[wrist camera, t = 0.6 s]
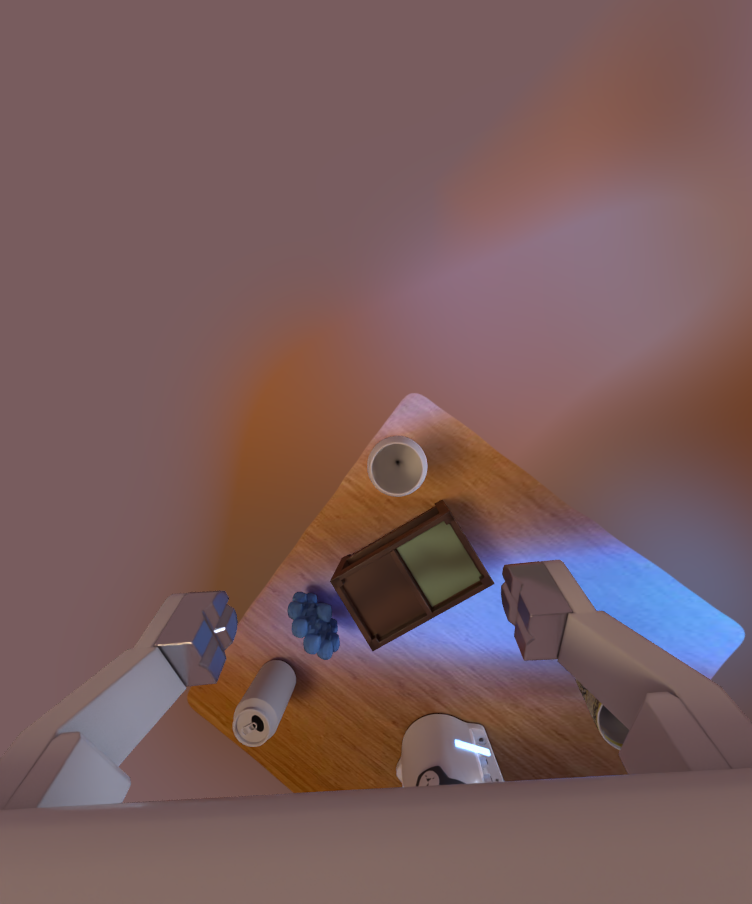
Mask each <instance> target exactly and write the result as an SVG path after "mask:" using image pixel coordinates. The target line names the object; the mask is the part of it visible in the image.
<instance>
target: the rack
mask: <svg viewBox="0 0 752 904" xmlns="http://www.w3.org/2000/svg"><path fill="white" fill-rule="evenodd" d="M330 582H331V583H332V585H333V587H334V588H335V590H336V592H337V593H338V595H339V597H340V598H341V600H342V601H343V603H344V605H345V606H346V608H347V610H348V611H349V613H350V615H351V616H352V618H353V620H354V621H355V623H356V625H357V626H358V628H359V629H360V631H361V633H362V634H363V636H364V638H365V639H366V641H367V643H368V644H369V646H370V648H371V649H372V651H374V650H376V649H378V648H380V647H381V646H383V645H385V644H387V643H388V642H390V641H392V640H394V639H396V638H398V637H399V636H401V635H403V634H405V633H407V632H408V631H410V630H412V629H414V628H416V627H417V626H419V625H421V624H423V623H425V622H426V621H428V620H430V619H432V618H434V617H435V616H437V615H439V614H441V613H443V612H444V611H446V610H448V609H450V608H452V607H453V606H455V605H457V604H459V603H461V602H462V601H464V600H466V599H468V598H470V597H471V596H473V595H475V594H477V593H479V592H481V591H482V590H484V589H486V588H488V587H490V586H491V585H493V584H494V582H493V580H492V579H491V577H490V575H489V574H488V572H487V570H486V569H485V567H484V566H483V564H482V562H481V561H480V559H479V557H478V556H477V554H476V553H475V551H474V549H473V548H472V546H471V544H470V543H469V541H468V540H467V538H466V536H465V535H464V533H463V531H462V530H461V528H460V527H459V525H458V523H457V522H456V520H455V518H454V517H453V515H452V513H451V512H450V510H449V509H448V507H447V506H446V505H445V503H444V502H443V500H440V501H439V502H437V503H435V507H433V508H431V509H430V510H428V511H426V512H425V513H423V514H421V515H419V516H418V517H416V518H414V519H413V520H411V521H409V522H408V523H406V524H404V525H402V526H401V527H399V528H397V529H396V530H394V531H392V532H391V533H389V534H387V535H385V536H384V537H382V538H380V539H379V540H377V541H375V542H374V543H372V544H370V545H368V546H367V547H365V548H363V549H362V550H360V551H358V552H356V553H355V554H353V555H351V556H350V555H349V554H348V555H347V556H345V557H343V558H342V559H341V561H340V563H339V565H338V567H337V569H336V571H335V573H334V575H333V577H332V579H331V581H330Z"/></svg>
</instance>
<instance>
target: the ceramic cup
mask: <svg viewBox="0 0 752 904" xmlns="http://www.w3.org/2000/svg"><path fill="white" fill-rule="evenodd" d="M575 680H576V683H577V685H578V687H579V689H580V691H581V693H582V696H583V698H584V700H585V702H586V704H587V706H588V709H589V712H590V714H591V716H592V718H593V720H594V722H595V724H596V726H597V728H598V730H599V732H600V734H601V735H602V737H603V738H604V739H605V740H606V741H607V742H608V743H609V744H610V745H611V746H613V747H614V748H616V749H618V750H621V747H622V745H623V743H624V741H625V739H626V736H627V734H628V732H629V729H628V728H627V727H626V726H625V725H623V724H622V723H621V722H620V721H619V720H618V719H617V718H616V717H615V716H614V715H613V714H612V713H611V712H610V711H609V710H608V709H607V708H606V707H605V706H604V705H603V704H602V703H601V702H600V701H599V700H598V699H597V698H595V697H594V696H593V695H592V694H591V693H590V692H589V691H588V690H587V689H586V688H585V687H584V686H583V685H582V684H581V683H580V682H579V681H578V680H577V679H576V678H575Z"/></svg>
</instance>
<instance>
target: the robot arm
mask: <svg viewBox="0 0 752 904" xmlns="http://www.w3.org/2000/svg"><path fill="white" fill-rule="evenodd" d="M502 575H503V577H504V579H505V583H504V584H503V585H502V586H501V597H502V604H503V607H504V611H505V614H506V616H507V619H508V621H509V622H511V623H512V624H513V625H514V626H515V633H514V637H515V639H516V642H517V644H518V647H519V649H520V652H521V654H522V657H523V659H524V661H527V660H550V659H558V662H559V663H560V664H561V665H562V666H563V667H564V668H565V669H566V670H567V671H568V672H570V673H571V674H572V675H573V676H574V677H575V678H576V679H577V680H578V681H579V682H580V683H581V684H582V685H583V686H584V687H585V688H586V689H587V690H588V691H589V692H590V693H591V694H592V695H593V696H594V697H595V698H597V699H598V700H599V701H600V702H601V703H602V704H603V705H604V706H605V707H606V708H607V709H608V710H609V711H610V712H611V713H612V714H613V715H614V716H615V717H616V718H617V719H618V720H619V721H620V722H621V723H622V724H623V725H625V726H626V727H627V728H628V729H629V732H628V734H627V736H626V739H625V741H624V743H623V745H622V747H621V750H620V752H619V757H620V759H621V761H622V763H623V765H624V767H625V769H626V771H627V773H628V775H614V776H596V777H578V778H560V779H542V780H524V781H506V782H504V780H503V777H502V774H501V772H500V769H499V766H498V764H497V761H496V758H495V756H494V753H493V750H492V748H491V745H490V742H489V740H488V737H487V734H486V731H485V729H484V727H483V726H482V725H479V724H475V723H466V722H463V721H461V720H459V719H457V718H455V717H452V716H449V715H445V714H432V715H427V716H424V717H422V718H420V719H418V720H417V721H415V722H414V723H413V724H412V725H411V726H410V727H409V728H408V730H407V731H406V733H405V735H404V738H403V742H402V754H401V758H400V760H399V762H398V764H397V766H396V773H397V777H398V778H399V779H400V781H401V782H402V787H398V788H380V789H362V790H345V791H327V792H309V793H292V794H274V795H256V796H239V797H220V798H203V799H184V800H167V801H149V802H132V803H122V802H123V800H124V798H125V796H126V794H127V792H128V789H129V787H130V785H131V781H130V777H129V776H128V775H127V774H126V773H125V772H123V771H122V770H121V769H120V768H119V767H118V766H119V765H120V764H121V763H122V762H123V761H124V759H125V758H126V757H127V756H128V755H129V754H130V753H131V751H132V750H133V749H134V748H135V747H136V746H137V745H138V743H139V742H140V741H141V740H142V739H143V738H144V736H145V735H146V734H147V733H148V732H149V731H150V730H151V728H152V727H153V726H154V725H155V724H156V723H157V722H158V720H159V719H160V718H161V717H162V716H163V715H164V714H165V712H166V711H167V710H168V709H169V708H170V706H171V705H172V704H173V703H174V702H175V701H176V700H177V699H178V698H179V696H180V695H181V694H182V693H183V692H184V691H185V690H186V687H187V686H196V685H206V684H215V683H217V681H218V678H219V676H220V673H221V671H222V668H223V666H224V663H225V660H226V655H225V652H224V651H225V650H226V649H227V648H228V647H229V646H230V645H231V644H232V643H233V640H234V637H235V635H236V630H237V623H238V621H237V615H236V612H235V610H234V608H232V607H230V606H229V605H228V604H227V602H228V599H229V598H228V596H227V594H226V592H225V591H207V592H190V593H179V594H172V595H170V596H169V597H168V598H167V599H166V600H165V601H164V603H163V604H162V606H161V607H160V609H159V610H158V612H157V613H156V615H155V616H154V618H153V620H152V621H151V622H150V624H149V626H148V627H147V629H146V630H145V632H144V633H143V635H142V636H141V638H140V639H139V641H138V642H137V644H136V645H135V647H134V648H133V649H127V650H126V651H125V652H124V653H122V654H121V655H120V656H118V657H117V658H116V659H115V660H113V661H112V662H111V663H110V664H108V665H107V666H106V667H104V668H103V669H102V670H101V671H99V672H98V673H97V674H95V675H94V676H93V677H92V678H90V679H89V680H88V681H86V682H85V683H84V684H83V685H81V686H80V687H79V688H78V689H76V690H75V691H74V692H72V693H71V694H70V695H69V696H67V697H66V698H65V699H63V700H62V701H61V702H60V703H58V704H57V705H56V706H54V707H53V708H52V709H51V710H50V711H48V712H47V713H46V714H44V715H43V716H42V717H40V718H39V719H38V720H37V721H35V722H34V723H33V724H31V725H30V726H29V727H28V728H26V729H25V730H24V731H22V732H21V733H20V734H19V735H18V737H17V738H16V739H15V741H14V742H13V743H12V745H11V746H10V747H9V748H8V749H7V751H6V752H5V753H4V755H3V756H2V757H1V758H0V904H752V722H751V721H750V720H749V719H748V718H747V717H746V715H745V714H744V713H743V712H742V711H741V709H740V708H739V707H738V706H737V705H736V704H735V702H734V701H733V700H732V699H731V698H730V697H729V695H728V694H727V693H726V692H725V691H724V690H723V688H722V687H721V686H719V685H718V684H716V683H715V682H713V681H711V680H710V679H708V678H707V677H705V676H704V675H702V674H701V673H699V672H697V671H696V670H694V669H693V668H691V667H690V666H688V665H687V664H685V663H683V662H682V661H680V660H679V659H677V658H676V657H674V656H672V655H671V654H669V653H668V652H666V651H665V650H663V649H662V648H660V647H658V646H657V645H655V644H654V643H652V642H651V641H649V640H647V639H646V638H644V637H643V636H641V635H640V634H638V633H637V632H635V631H633V630H632V629H630V628H629V627H627V626H626V625H624V624H623V623H621V622H619V621H618V620H616V619H615V618H613V617H612V616H610V615H608V614H607V613H605V612H604V611H596V609H595V608H594V606H593V605H592V604H591V602H590V601H589V599H588V598H587V596H586V595H585V593H584V592H583V590H582V589H581V587H580V586H579V585H578V583H577V582H576V580H575V579H574V577H573V576H572V574H571V573H570V571H569V570H568V568H567V567H566V566H565V564H564V563H563V562H562V561H561V560H552V561H541V562H539V561H538V562H529V563H519V564H509V565H504V567H503V573H502ZM479 738H482V739H479Z"/></svg>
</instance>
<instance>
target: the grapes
mask: <svg viewBox="0 0 752 904" xmlns="http://www.w3.org/2000/svg"><path fill="white" fill-rule="evenodd" d="M288 616H289V618H291V619H293V620H294V621H293V623H292V633H293V635H294V636H296V637H298V638H303V637H304V636H305V638H304V642H303V645H304V650H305V651H306V652H307V653H309V654H316V653H317V655H318V657H320V658H321V659H323V660H328V659H330V658H331V656H332V654H333V652H336V651H337V650H338V648H339V646H340V641H339V635H337V634H336V633H337V631H338V625H337V621H336V620H335V619H332V618H331V617H332V609H331V606H330V605H329V604H326V603H319V604H318V603H317V596H316V595H315V594H313V593H307V594H305V593H303V592H297V593H295V594H294V596H293V601H292V602H291V603H290V604H289V606H288Z"/></svg>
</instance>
